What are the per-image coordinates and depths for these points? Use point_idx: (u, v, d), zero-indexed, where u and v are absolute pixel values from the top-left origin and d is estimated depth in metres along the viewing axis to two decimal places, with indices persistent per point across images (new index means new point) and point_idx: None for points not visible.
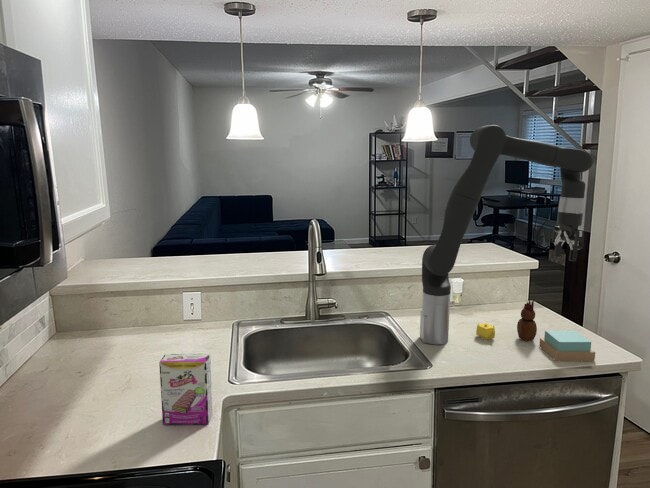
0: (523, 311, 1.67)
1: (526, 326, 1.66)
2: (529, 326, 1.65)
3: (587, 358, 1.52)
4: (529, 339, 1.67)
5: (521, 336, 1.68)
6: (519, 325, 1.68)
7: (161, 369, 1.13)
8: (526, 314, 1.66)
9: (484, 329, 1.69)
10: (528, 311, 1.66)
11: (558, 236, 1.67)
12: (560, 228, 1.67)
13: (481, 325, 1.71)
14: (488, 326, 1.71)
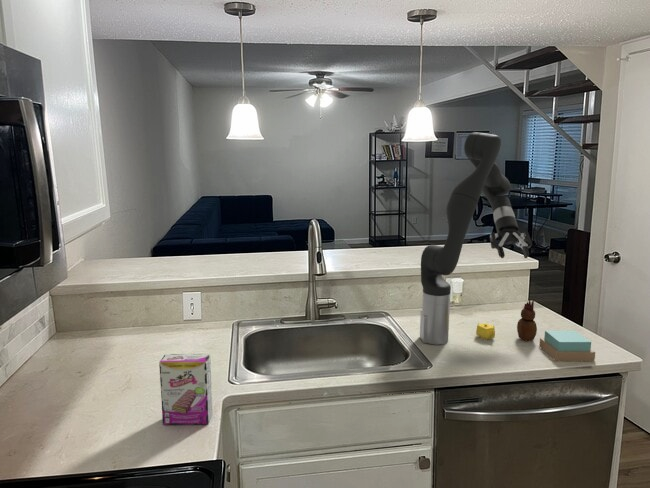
0: (523, 311, 1.67)
1: (526, 326, 1.66)
2: (529, 326, 1.65)
3: (587, 358, 1.52)
4: (529, 339, 1.67)
5: (521, 336, 1.68)
6: (519, 325, 1.68)
7: (161, 369, 1.13)
8: (526, 314, 1.66)
9: (484, 329, 1.69)
10: (528, 311, 1.66)
11: (505, 237, 1.78)
12: (502, 232, 1.80)
13: (481, 325, 1.71)
14: (488, 326, 1.71)
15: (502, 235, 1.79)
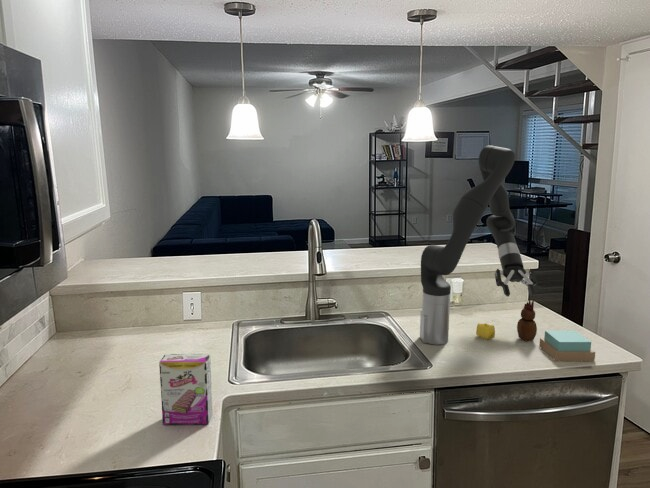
0: (523, 311, 1.67)
1: (526, 326, 1.66)
2: (529, 326, 1.65)
3: (587, 358, 1.52)
4: (529, 339, 1.67)
5: (521, 336, 1.68)
6: (519, 325, 1.68)
7: (161, 369, 1.13)
8: (526, 314, 1.66)
9: (484, 329, 1.69)
10: (528, 311, 1.66)
11: (510, 275, 1.77)
12: (507, 270, 1.79)
13: (481, 325, 1.71)
14: (488, 326, 1.71)
15: (507, 272, 1.78)
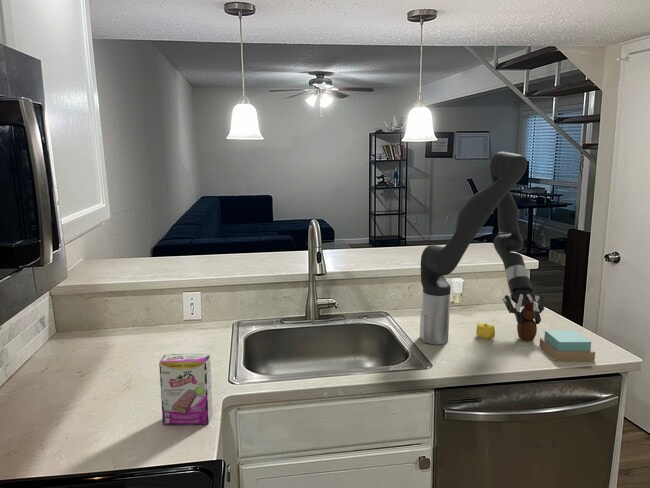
0: (523, 311, 1.67)
1: (526, 326, 1.66)
2: (529, 326, 1.65)
3: (587, 358, 1.52)
4: (529, 339, 1.67)
5: (521, 336, 1.68)
6: (519, 325, 1.68)
7: (161, 369, 1.13)
8: (526, 314, 1.66)
9: (484, 329, 1.69)
10: (528, 311, 1.66)
11: (520, 300, 1.70)
12: (515, 293, 1.72)
13: (481, 325, 1.71)
14: (488, 326, 1.71)
15: (516, 298, 1.71)
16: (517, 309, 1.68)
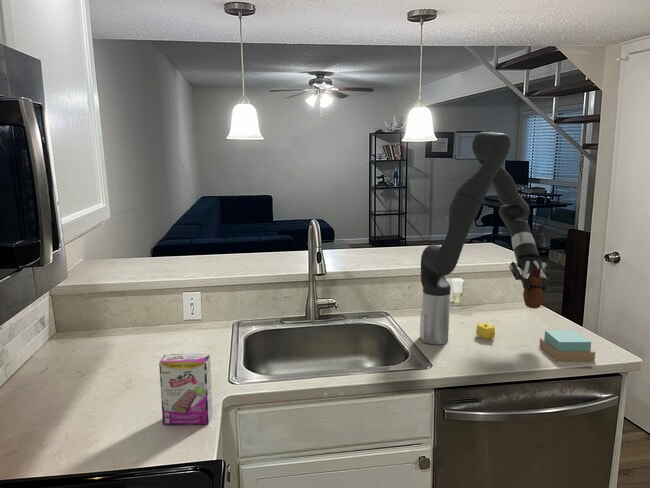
0: (530, 277, 1.64)
1: (532, 292, 1.62)
2: (536, 293, 1.62)
3: (587, 358, 1.52)
4: (536, 306, 1.63)
5: (528, 303, 1.64)
6: (525, 292, 1.65)
7: (161, 369, 1.13)
8: (533, 280, 1.62)
9: (484, 329, 1.69)
10: (535, 277, 1.63)
11: (527, 267, 1.66)
12: (521, 260, 1.68)
13: (481, 325, 1.71)
14: (488, 326, 1.71)
15: (523, 265, 1.67)
16: (524, 275, 1.65)
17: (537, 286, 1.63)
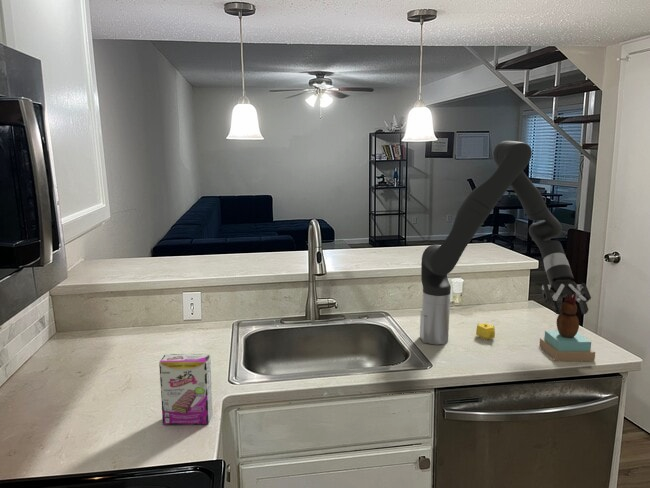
0: (564, 305, 1.54)
1: (567, 320, 1.53)
2: (571, 321, 1.53)
3: (587, 358, 1.52)
4: (571, 335, 1.54)
5: (562, 332, 1.55)
6: (559, 320, 1.56)
7: (161, 369, 1.13)
8: (568, 308, 1.53)
9: (484, 329, 1.69)
10: (570, 305, 1.53)
11: (560, 290, 1.57)
12: (556, 284, 1.59)
13: (481, 325, 1.71)
14: (488, 326, 1.71)
15: (556, 287, 1.58)
16: (554, 298, 1.56)
17: (572, 314, 1.53)
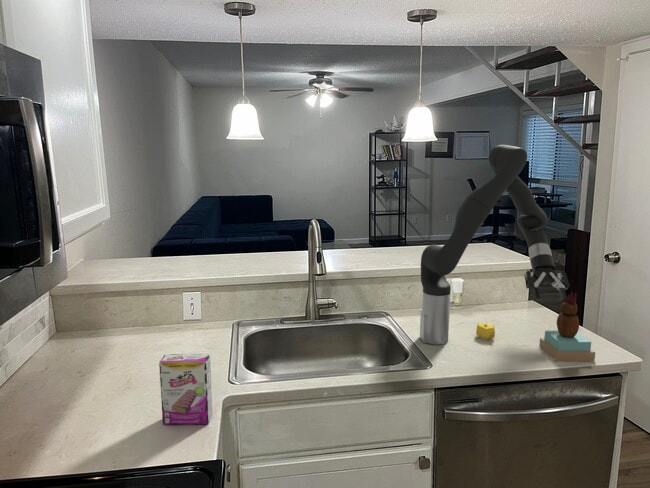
0: (564, 305, 1.54)
1: (567, 320, 1.53)
2: (571, 321, 1.53)
3: (587, 358, 1.52)
4: (571, 335, 1.54)
5: (562, 332, 1.55)
6: (560, 320, 1.56)
7: (161, 369, 1.13)
8: (568, 308, 1.53)
9: (484, 329, 1.69)
10: (570, 305, 1.53)
11: (541, 278, 1.69)
12: (538, 271, 1.71)
13: (481, 325, 1.71)
14: (488, 326, 1.71)
15: (538, 275, 1.71)
16: (535, 285, 1.68)
17: (572, 314, 1.54)
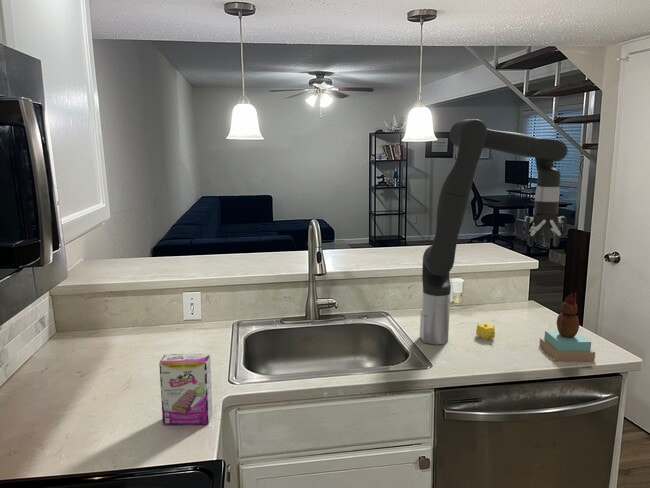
0: (564, 305, 1.54)
1: (567, 320, 1.53)
2: (571, 321, 1.53)
3: (587, 358, 1.52)
4: (571, 335, 1.54)
5: (562, 332, 1.55)
6: (560, 320, 1.56)
7: (161, 369, 1.13)
8: (568, 308, 1.53)
9: (484, 329, 1.69)
10: (570, 305, 1.53)
11: (539, 226, 1.67)
12: (538, 218, 1.67)
13: (481, 325, 1.71)
14: (488, 326, 1.71)
15: (538, 221, 1.67)
16: (531, 233, 1.68)
17: (572, 314, 1.54)
